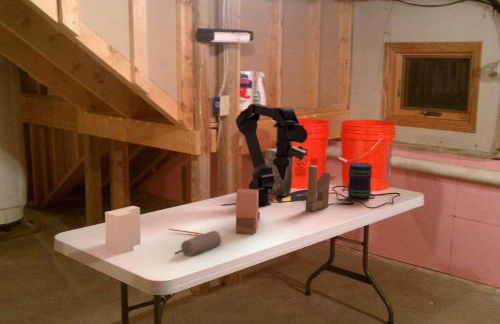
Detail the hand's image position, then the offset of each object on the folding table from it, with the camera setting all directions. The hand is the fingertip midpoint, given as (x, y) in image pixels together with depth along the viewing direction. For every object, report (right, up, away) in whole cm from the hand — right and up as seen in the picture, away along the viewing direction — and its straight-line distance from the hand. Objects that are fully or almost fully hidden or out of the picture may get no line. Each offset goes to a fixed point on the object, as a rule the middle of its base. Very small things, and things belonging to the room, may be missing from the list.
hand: (282, 179), depth 211 cm
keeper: (-14, -17, -21) cm, 31 cm away
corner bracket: (-53, -20, -40) cm, 69 cm away
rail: (-13, -16, -17) cm, 27 cm away
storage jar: (+35, -9, +27) cm, 45 cm away
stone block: (0, -8, +32) cm, 33 cm away
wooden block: (+14, -12, +8) cm, 20 cm away
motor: (-35, -20, -37) cm, 55 cm away
